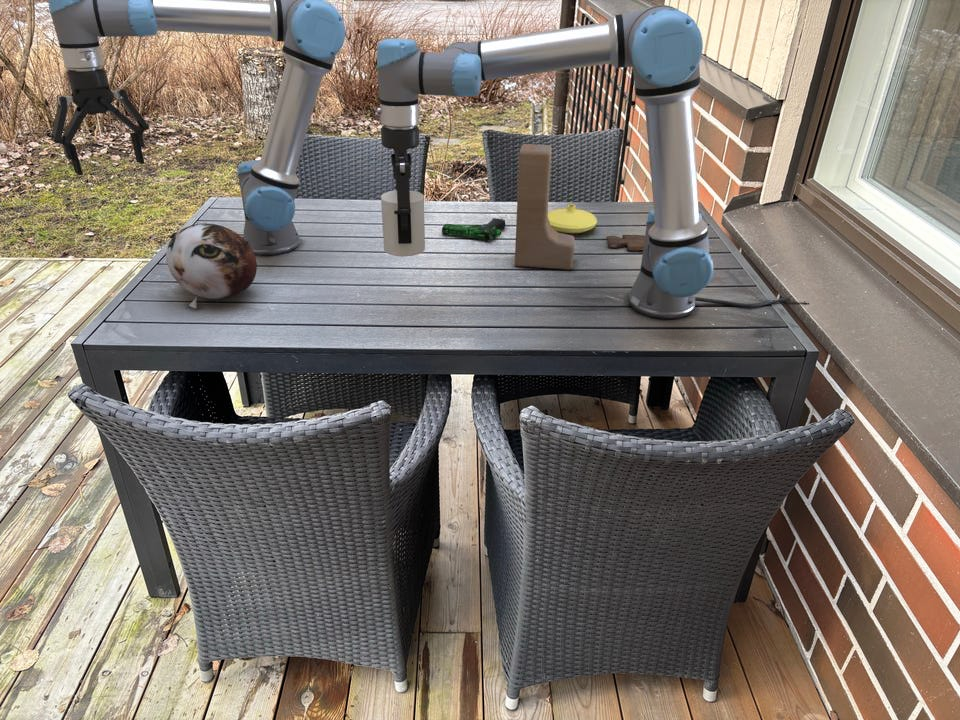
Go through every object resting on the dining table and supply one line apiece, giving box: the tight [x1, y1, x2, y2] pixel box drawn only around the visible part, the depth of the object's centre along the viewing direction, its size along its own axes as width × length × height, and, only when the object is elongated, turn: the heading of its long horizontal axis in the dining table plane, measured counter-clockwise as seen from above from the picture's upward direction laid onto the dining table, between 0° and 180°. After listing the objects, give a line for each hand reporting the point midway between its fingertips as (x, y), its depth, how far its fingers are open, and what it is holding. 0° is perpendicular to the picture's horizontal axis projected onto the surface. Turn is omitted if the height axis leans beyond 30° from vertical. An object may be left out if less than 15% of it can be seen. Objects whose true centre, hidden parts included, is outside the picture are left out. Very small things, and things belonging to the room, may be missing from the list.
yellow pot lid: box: [547, 203, 598, 234], centre depth 209 cm, size 16×16×7 cm
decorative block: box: [514, 143, 576, 271], centre depth 181 cm, size 8×15×30 cm, turn 82°
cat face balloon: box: [165, 222, 258, 309], centre depth 165 cm, size 22×18×20 cm
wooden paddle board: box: [605, 234, 645, 251], centre depth 200 cm, size 26×2×10 cm
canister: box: [380, 189, 426, 258], centre depth 150 cm, size 9×9×12 cm
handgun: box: [441, 217, 506, 242], centre depth 207 cm, size 16×3×15 cm
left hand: (110, 168), depth 162 cm, fingers open, 13 cm apart
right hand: (404, 234), depth 151 cm, fingers closed on canister, 9 cm apart
